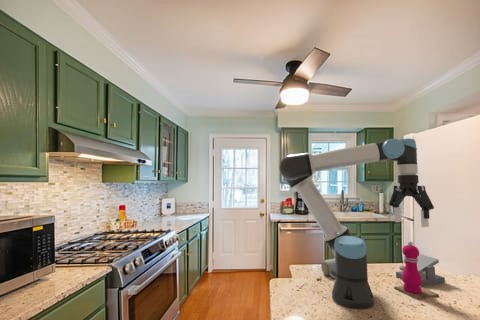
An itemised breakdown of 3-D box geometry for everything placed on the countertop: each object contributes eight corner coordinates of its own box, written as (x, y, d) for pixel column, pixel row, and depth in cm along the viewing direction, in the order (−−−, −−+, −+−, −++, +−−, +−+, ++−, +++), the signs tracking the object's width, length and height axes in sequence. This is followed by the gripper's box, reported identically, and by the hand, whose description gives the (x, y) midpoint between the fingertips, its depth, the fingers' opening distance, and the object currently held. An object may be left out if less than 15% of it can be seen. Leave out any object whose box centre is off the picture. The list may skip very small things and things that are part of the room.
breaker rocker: (417, 278, 118) (414, 270, 118) (400, 271, 127) (397, 264, 127) (440, 264, 122) (437, 256, 122) (422, 258, 131) (419, 251, 131)
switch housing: (418, 286, 116) (417, 268, 117) (395, 276, 128) (394, 260, 129) (445, 283, 119) (444, 265, 120) (421, 274, 132) (419, 258, 132)
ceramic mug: (320, 273, 135) (320, 257, 135) (334, 271, 136) (334, 256, 137) (331, 280, 124) (331, 264, 125) (347, 279, 126) (346, 262, 127)
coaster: (416, 299, 103) (416, 297, 103) (394, 288, 114) (394, 286, 114) (438, 296, 106) (438, 294, 106) (415, 286, 117) (414, 284, 117)
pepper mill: (426, 294, 106) (424, 243, 108) (408, 294, 106) (406, 243, 108) (415, 287, 113) (413, 239, 115) (398, 286, 113) (396, 239, 115)
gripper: (442, 173, 103) (446, 228, 101) (392, 175, 127) (394, 220, 125) (426, 173, 101) (430, 229, 100) (379, 175, 126) (381, 220, 124)
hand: (410, 224), depth 113 cm, fingers open, 13 cm apart
